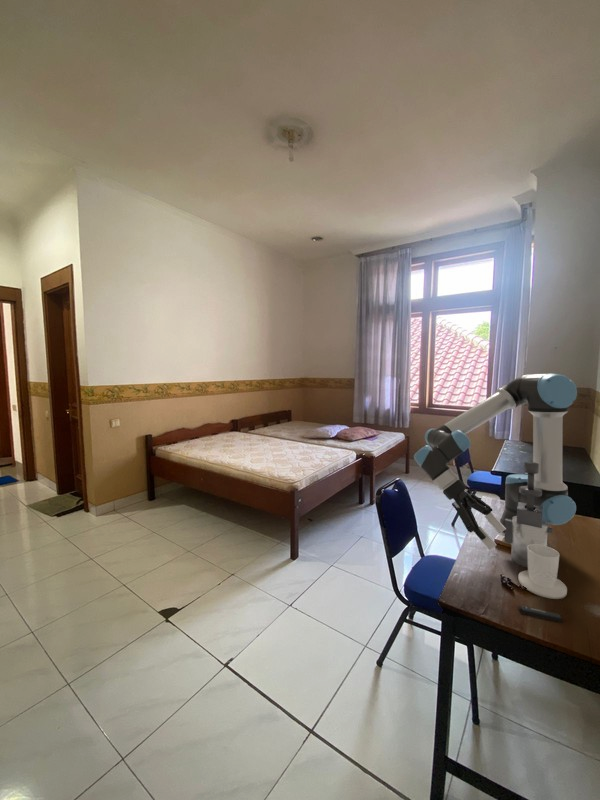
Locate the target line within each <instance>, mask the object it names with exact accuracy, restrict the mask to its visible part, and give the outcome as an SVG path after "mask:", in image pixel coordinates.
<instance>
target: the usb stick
mask: <svg viewBox="0 0 600 800" xmlns="http://www.w3.org/2000/svg"><path fill="white" fill-rule="evenodd" d="M518 611H519V613H521V614H523V615H528V616H532V617H537V618H540V619H544V618H545V620H548V621H554V622H559V623H561V622H562V621H563V618H562V616H561V615H560V613H556V612H553V611H547V610H543V609H539V608H534V607H529V606H524V605H522V604H521V605H518Z"/></svg>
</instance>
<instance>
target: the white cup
mask: <svg viewBox="0 0 600 800" xmlns="http://www.w3.org/2000/svg"><path fill="white" fill-rule="evenodd" d="M527 557H528V567H527V570H528V577H529V580H530V581H531V582H532V583H533V584H535V585H537V586H540V587H543V588H554V587H555V586H556V578H557V579H558V571H559V562H560V553H559V551H557V549H554V548H552V547H551V546H548V545H547V546H545V545H540V544H530V545H528V546H527Z"/></svg>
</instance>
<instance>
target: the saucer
mask: <svg viewBox="0 0 600 800" xmlns="http://www.w3.org/2000/svg"><path fill="white" fill-rule="evenodd" d="M518 582H519V584H520V585H521V586H522V587H523V586H524V587H526V588H527V589H526V591H529V592H530V593H532V594H534V595H537V596H539V597H543V598H547V599H553V600H560V599H564V598H565V597H566V596H567V595H568V587H567V586H566V584H565V583H564V582H562V581H561V580H560V579H559V578H558V577H557V578H556V586H555V587H554V588H543V587H540V586H537V585H535V584H533V583H532V582H531V581H530V580H529V577H528V569H527V570H522V571H519V573H518ZM524 587H523V588H524Z"/></svg>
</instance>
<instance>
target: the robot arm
mask: <svg viewBox="0 0 600 800" xmlns="http://www.w3.org/2000/svg"><path fill="white" fill-rule="evenodd" d="M577 396H578V389H577V386H576V383H575V382H574V381H573V380H572V379H571V378H570V377H568V376H567V375H564V374H559V373H527V374H524V375H521V376H519V377H516V378H514V379H512V380H510V381H509V382H507V383H505V384H504V385H502V386H500V387H499V388H497V389H496V391H495V393H493V395H490V396H489V397H487V398H485V399H484V400H482V401H481V402H479V403H478V404H475V405H474V406H472V407H471V408H469V409H468V410H465V411H464V412H462V413H461V414H459V415H458V416H456V417H455V418H452V419H451V420H449V421H447V422H446V423H444V424H442V425H440V426H439V427H437V428H430V429H428V430H426V432H425V434H424V440H425V442H426V444H427V445H426V444H425V445H424V446H423V447H421V448H420V449H418V451H416V452H415V453H414V455H413V459H414V461H415V462H416V463H417V465H418V466H419V468H421V469H422V470H423V472H424V473H425V474H426V475H427V476H428V477H429V478H430V480H431V481H433V483H434V485H435V486H437V488H438V489H439V490H442V494H443V495H444V496H445V497H446V498H447V499H448V500H449V501H451V500H452V499H453V501H454V502H452V503H451V505H452V507H453V508H454V510H455V511H456V512H457V515H458V516H459V518H460V520H461V522H462V523H463V525H464V527H465V528H466V530H467V531H468V532H469V533H474V534H475V535H476V536H477V537H478V538H479V539H480V541H481V542H482V543H483V544H484V545H485V546H486V548H487V549H488V550H492V549H493V548H495V547H496V546H497V543H496V542H495V541H494V540H493V539H492V537H490V535H489V534H488V533H487V532H486V531H485V530H484V528H483V527H482V526H481V525H480V526H479V524H478V522H477V520H476V517H475V516H474V513H473V510H472V509H474V510H475V511H477V512H479V513H480V514H482V515H484V518H485V519H486V520H487V522H489V524H490V525H491V526H492V527H493V528H494V529H495V530H496V531H497V533H499V534H501V533H503V532H505V530H506V528H505V519H510V520H512V518H513V517H514V516H517V507H518V503H519V502H521V503H526V502H527V495H523V494H521V493H520V492H519V487H521V486H528V474H523V473H522V474H519V473H518V474H517V473H515V474H514V473H513V474H508V475H507V476H506V477H505V483H504V485H505V489H504V490H505V491H504V493H505V494H504V497H505V498H504V499H505V501H504V511H503V513H502V516H501V518H500V519H498V518H497V517H496V516H495V515H494V514H493V513H492V512H493V511H494V510H493V508H492V507H491V506H490V505H489V504H487V503H486V502H485V501H483V499H481V498H480V497H478V496H477V495H476V494H475V493H473V491H472V490H471V489H467V485H466V484H465V483H464V482H463V481H462V480H461V479H458V475H457V474H456V473H455V472H454V471H453V470H452V468H450V467H449V466H448V464H450V462H452V461H453V460H454V459H456V458H458V456H460V455H462V454H463V453H465V452H466V450H467V449H469V448H470V447H471V445H472V442H471V439H470V437H468V436H467V435H466V434H469V433H470V432H471V431H474V430H475V429H477V428H478V427H480V426H482V425H484V424H485V423H486V422H487V423H488V421H490V420H491V419H494V418H495V417H497V416H498V415H501V414H502V413H504V412H506V410H508V409H510V410H514V409H516V408H517V407H519V406H523V405H527V412H529V413H530V414H531V415H532V417H533V418H532V451H533V452H532V455H533V456H532V462H535V463H538V464H539V471H538V473H537V474H534V487H536V488H539V489H541V490H542V496H540V497H534V505H537V506H543V518H542V521H544V522H546V523H547V524H550V525H553V526H561V525H562V526H563V525H564V524H567V523H569V521H570V520H572V519H573V517H574V516H575V515H576V511H577V505H576V501H574V500H573V499H572V497H570V496H569V489H568V485H567V484H565V483H564V482H563V439H564V438H563V434H564V433H563V421H564V419H563V417H564V415H565V414H567V413H568V412H569V407H570V406H572V404H574V402H575V401H576V399H577ZM466 489H467V490H466Z"/></svg>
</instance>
